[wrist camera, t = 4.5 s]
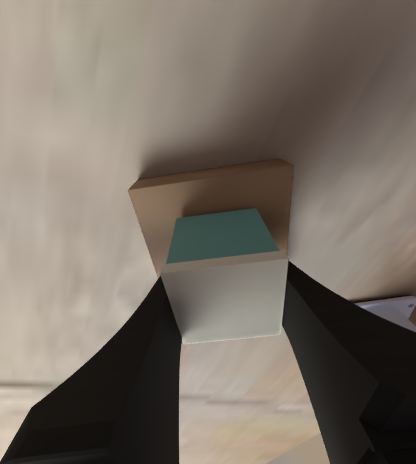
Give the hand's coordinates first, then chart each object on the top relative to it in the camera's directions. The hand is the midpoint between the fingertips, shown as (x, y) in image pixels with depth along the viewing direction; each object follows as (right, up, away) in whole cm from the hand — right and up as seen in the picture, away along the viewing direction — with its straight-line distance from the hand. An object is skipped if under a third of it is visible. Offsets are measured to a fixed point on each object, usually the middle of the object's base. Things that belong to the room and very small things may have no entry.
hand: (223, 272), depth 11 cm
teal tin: (0, +1, +2) cm, 2 cm away
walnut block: (0, +2, +4) cm, 5 cm away
